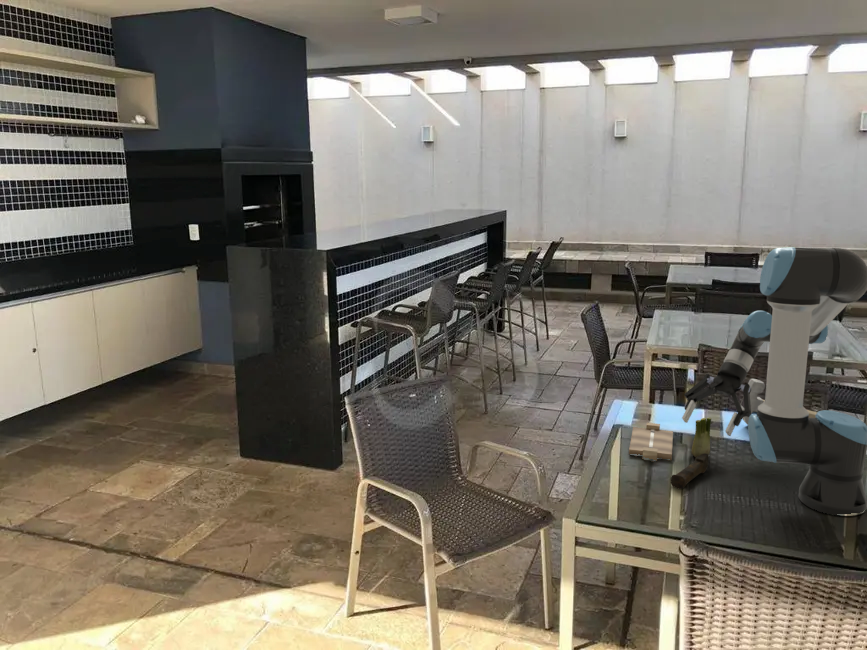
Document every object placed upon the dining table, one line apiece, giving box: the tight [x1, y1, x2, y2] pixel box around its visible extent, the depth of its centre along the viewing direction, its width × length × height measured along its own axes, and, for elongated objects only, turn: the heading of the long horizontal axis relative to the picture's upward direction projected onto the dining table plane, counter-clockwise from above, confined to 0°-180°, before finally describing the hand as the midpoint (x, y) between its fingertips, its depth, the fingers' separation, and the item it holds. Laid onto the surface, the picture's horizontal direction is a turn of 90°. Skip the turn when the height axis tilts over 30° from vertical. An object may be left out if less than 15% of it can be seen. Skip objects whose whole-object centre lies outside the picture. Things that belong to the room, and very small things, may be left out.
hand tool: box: [670, 453, 709, 490], centre depth 193 cm, size 19×4×5 cm, turn 133°
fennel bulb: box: [690, 417, 712, 458], centre depth 205 cm, size 6×5×12 cm
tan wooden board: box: [628, 422, 674, 462], centre depth 213 cm, size 22×12×3 cm, turn 161°
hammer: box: [740, 378, 818, 426], centre depth 225 cm, size 16×5×30 cm
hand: (705, 427), depth 207 cm, fingers open, 13 cm apart
